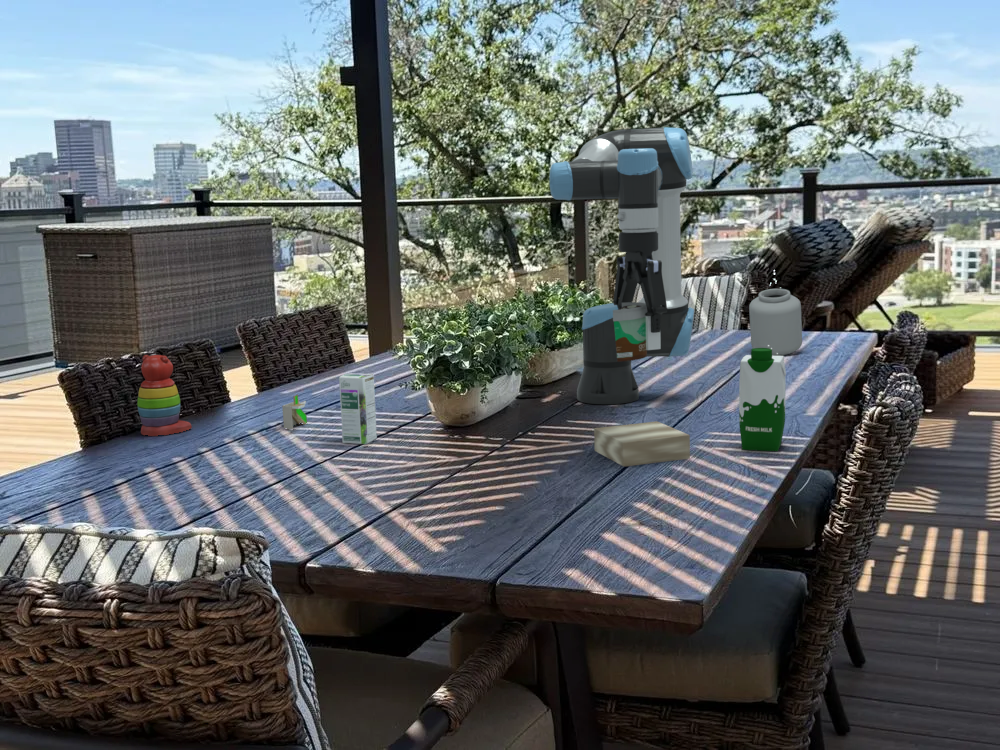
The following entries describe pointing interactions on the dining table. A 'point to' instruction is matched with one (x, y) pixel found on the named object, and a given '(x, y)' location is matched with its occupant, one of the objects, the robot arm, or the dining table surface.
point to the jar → (776, 321)
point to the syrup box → (357, 408)
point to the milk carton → (762, 400)
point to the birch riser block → (641, 443)
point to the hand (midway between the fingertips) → (639, 345)
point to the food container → (630, 331)
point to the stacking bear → (159, 398)
